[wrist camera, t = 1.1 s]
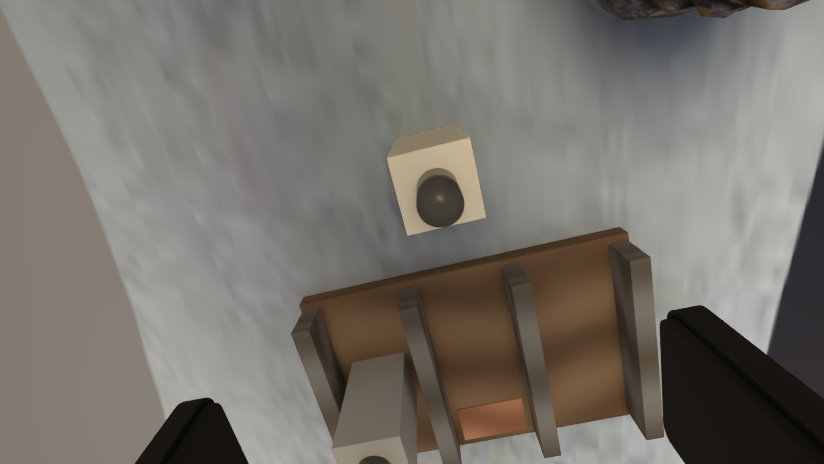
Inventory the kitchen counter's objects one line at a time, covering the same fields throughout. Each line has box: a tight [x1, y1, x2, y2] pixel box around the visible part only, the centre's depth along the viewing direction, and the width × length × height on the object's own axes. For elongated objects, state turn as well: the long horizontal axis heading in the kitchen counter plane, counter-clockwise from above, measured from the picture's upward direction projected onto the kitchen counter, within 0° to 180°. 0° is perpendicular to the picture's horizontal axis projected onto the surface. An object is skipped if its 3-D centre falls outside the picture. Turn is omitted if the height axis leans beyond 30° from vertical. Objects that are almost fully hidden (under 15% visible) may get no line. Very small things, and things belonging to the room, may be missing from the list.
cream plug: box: [387, 124, 486, 236], centre depth 23 cm, size 4×4×11 cm
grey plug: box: [332, 352, 417, 464], centre depth 27 cm, size 4×4×11 cm
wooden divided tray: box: [291, 227, 664, 464], centre depth 31 cm, size 15×23×4 cm, turn 104°
